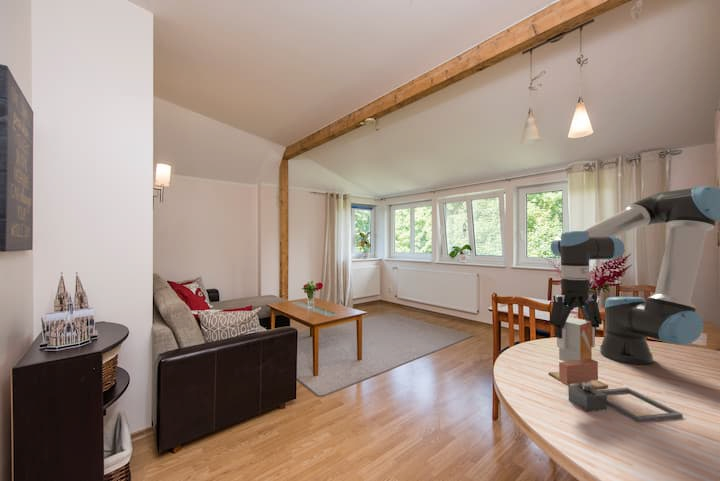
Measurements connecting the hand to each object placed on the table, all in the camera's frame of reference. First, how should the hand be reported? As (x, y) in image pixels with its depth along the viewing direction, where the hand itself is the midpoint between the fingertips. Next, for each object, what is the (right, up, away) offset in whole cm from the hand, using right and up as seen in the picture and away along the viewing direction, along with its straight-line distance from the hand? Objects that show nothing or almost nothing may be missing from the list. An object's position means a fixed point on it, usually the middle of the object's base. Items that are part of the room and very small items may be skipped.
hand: (575, 346), depth 97 cm
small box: (0, -5, 0) cm, 5 cm away
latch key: (-10, -7, -15) cm, 19 cm away
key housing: (-7, -11, -14) cm, 19 cm away
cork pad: (0, -11, 0) cm, 11 cm away
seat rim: (+5, -11, -15) cm, 19 cm away
